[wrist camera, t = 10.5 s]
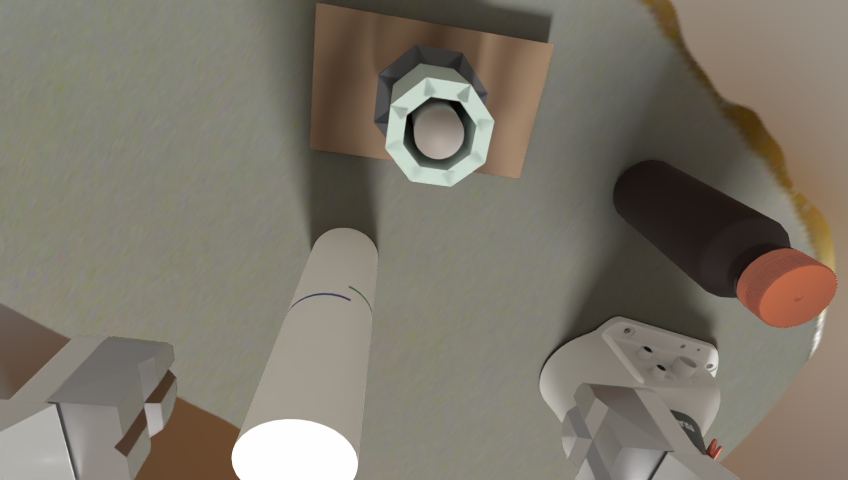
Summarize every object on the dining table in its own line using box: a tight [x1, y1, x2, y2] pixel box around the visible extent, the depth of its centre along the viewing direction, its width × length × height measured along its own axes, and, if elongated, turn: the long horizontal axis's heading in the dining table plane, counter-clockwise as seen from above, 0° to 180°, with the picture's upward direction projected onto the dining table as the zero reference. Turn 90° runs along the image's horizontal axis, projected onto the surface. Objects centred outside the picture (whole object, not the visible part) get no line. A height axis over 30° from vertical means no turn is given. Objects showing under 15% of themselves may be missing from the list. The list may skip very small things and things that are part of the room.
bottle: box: [613, 160, 837, 328], centre depth 37 cm, size 7×7×20 cm
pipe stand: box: [309, 2, 554, 178], centre depth 34 cm, size 20×12×16 cm, turn 81°
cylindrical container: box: [232, 228, 378, 480], centre depth 37 cm, size 7×7×25 cm
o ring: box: [373, 44, 488, 138], centre depth 36 cm, size 9×9×2 cm
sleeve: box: [385, 63, 495, 187], centre depth 31 cm, size 6×6×10 cm
